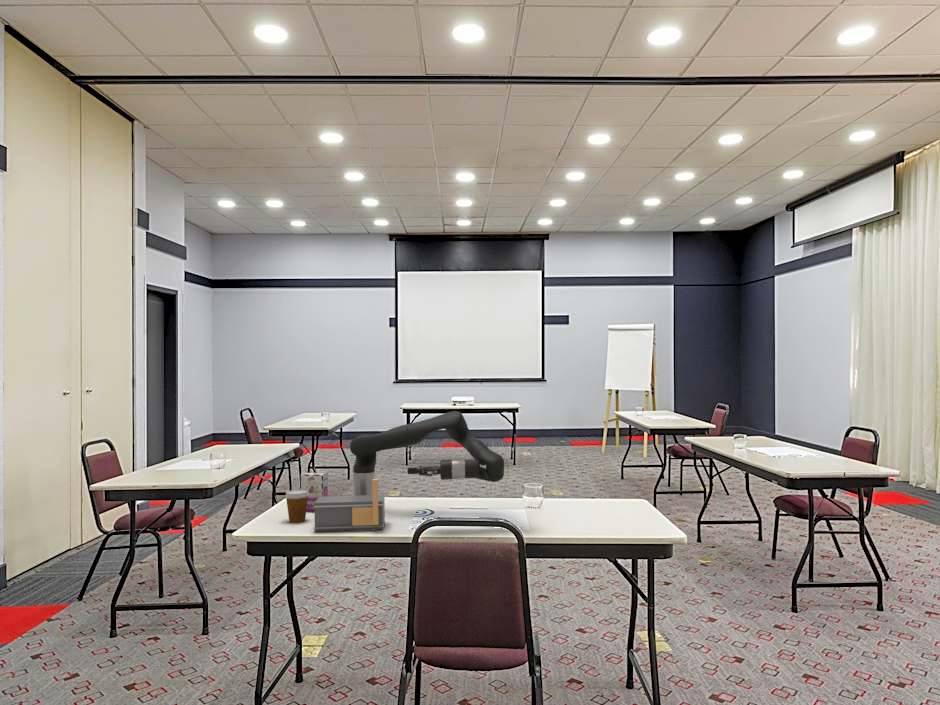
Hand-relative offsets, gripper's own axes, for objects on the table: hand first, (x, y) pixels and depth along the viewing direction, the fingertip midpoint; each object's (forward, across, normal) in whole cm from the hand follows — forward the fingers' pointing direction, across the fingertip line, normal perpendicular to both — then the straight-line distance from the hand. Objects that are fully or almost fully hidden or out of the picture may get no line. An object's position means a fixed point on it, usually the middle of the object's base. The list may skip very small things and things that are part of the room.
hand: (407, 470), depth 251 cm
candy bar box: (+42, -39, +23) cm, 62 cm away
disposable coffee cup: (+46, -21, +23) cm, 56 cm away
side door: (+17, -1, +21) cm, 26 cm away
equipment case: (+23, -9, +23) cm, 34 cm away
